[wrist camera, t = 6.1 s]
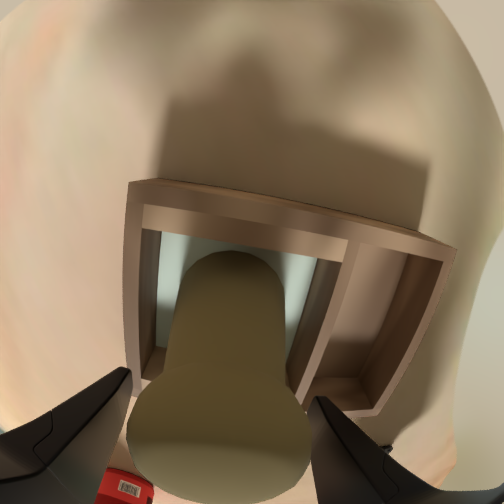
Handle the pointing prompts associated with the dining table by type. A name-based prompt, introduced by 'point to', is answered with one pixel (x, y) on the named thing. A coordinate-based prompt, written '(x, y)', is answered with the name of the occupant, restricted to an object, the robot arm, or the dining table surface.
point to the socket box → (287, 284)
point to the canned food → (123, 489)
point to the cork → (223, 391)
